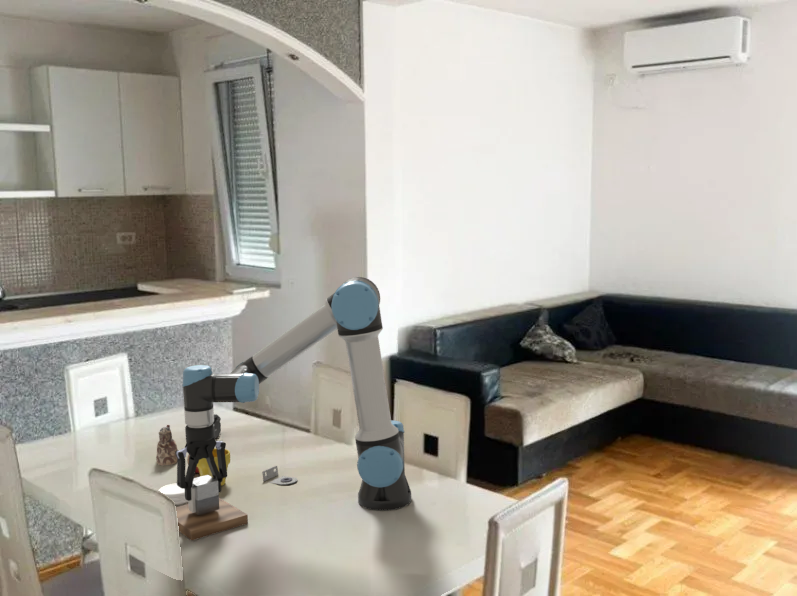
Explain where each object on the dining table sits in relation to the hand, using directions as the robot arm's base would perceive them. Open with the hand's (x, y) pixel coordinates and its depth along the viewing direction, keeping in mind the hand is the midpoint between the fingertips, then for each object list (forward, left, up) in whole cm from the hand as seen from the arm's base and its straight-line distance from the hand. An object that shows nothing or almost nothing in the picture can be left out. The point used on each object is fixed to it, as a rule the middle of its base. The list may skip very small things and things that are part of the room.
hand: (204, 507), depth 216 cm
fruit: (+38, -17, -4) cm, 42 cm away
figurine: (+55, -13, -4) cm, 57 cm away
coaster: (+21, -1, -4) cm, 21 cm away
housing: (0, 0, 0) cm, 0 cm away
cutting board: (0, 0, -4) cm, 4 cm away
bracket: (+14, -32, -5) cm, 35 cm away
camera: (+71, -35, -4) cm, 79 cm away
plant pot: (+25, -15, -4) cm, 29 cm away
